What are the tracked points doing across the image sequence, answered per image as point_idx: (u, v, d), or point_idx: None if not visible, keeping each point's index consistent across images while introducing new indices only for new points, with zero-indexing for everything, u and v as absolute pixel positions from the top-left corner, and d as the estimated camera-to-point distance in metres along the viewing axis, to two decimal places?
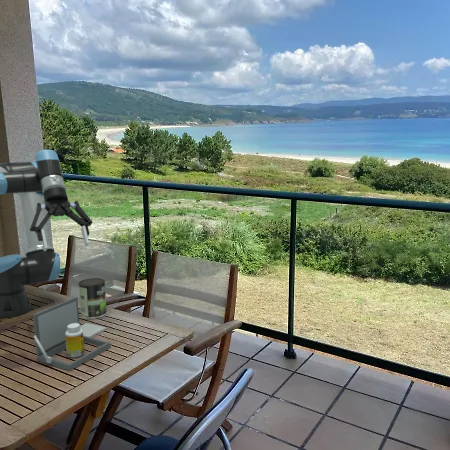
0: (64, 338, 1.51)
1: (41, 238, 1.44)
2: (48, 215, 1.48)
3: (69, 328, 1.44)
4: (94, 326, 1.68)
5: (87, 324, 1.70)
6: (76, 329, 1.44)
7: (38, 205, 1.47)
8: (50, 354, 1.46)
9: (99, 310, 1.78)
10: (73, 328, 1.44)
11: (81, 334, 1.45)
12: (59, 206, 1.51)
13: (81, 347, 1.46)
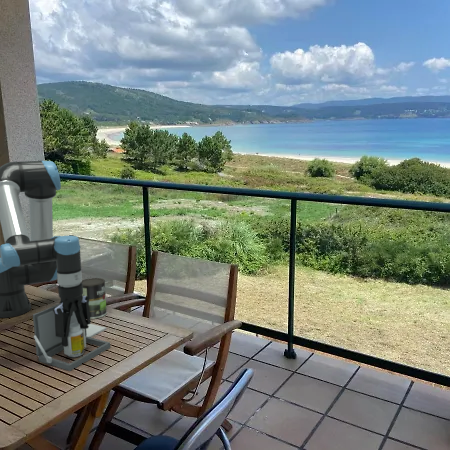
0: None
1: (67, 345, 1.43)
2: (69, 317, 1.42)
3: (69, 328, 1.44)
4: (94, 326, 1.68)
5: None
6: (76, 329, 1.44)
7: (59, 311, 1.38)
8: (50, 354, 1.46)
9: (99, 310, 1.78)
10: (73, 328, 1.44)
11: (81, 334, 1.45)
12: (74, 302, 1.44)
13: (81, 347, 1.46)
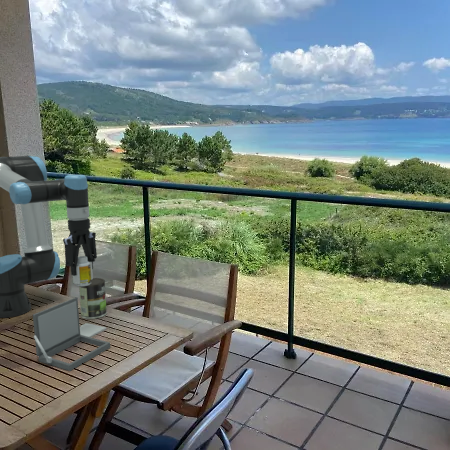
0: (64, 338, 1.51)
1: (75, 274, 1.57)
2: (78, 249, 1.56)
3: (78, 259, 1.58)
4: (94, 326, 1.68)
5: (87, 324, 1.70)
6: (84, 260, 1.59)
7: (69, 242, 1.53)
8: (50, 354, 1.46)
9: (99, 310, 1.78)
10: (82, 259, 1.58)
11: (88, 265, 1.60)
12: (82, 235, 1.58)
13: (88, 277, 1.60)
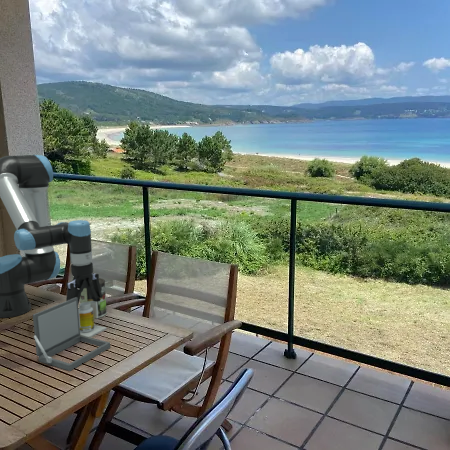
0: (64, 338, 1.51)
1: None
2: (80, 293, 1.59)
3: (81, 306, 1.62)
4: (94, 326, 1.68)
5: None
6: (87, 307, 1.62)
7: (72, 286, 1.55)
8: (50, 354, 1.46)
9: (99, 310, 1.78)
10: (85, 306, 1.61)
11: (91, 311, 1.63)
12: (85, 280, 1.61)
13: (91, 323, 1.63)
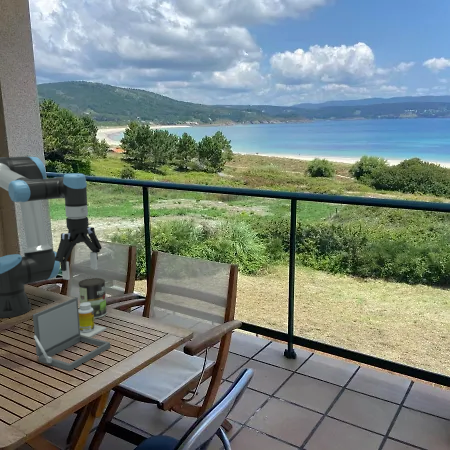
0: (64, 338, 1.51)
1: (65, 269, 1.55)
2: (72, 246, 1.56)
3: (81, 306, 1.61)
4: (94, 326, 1.68)
5: None
6: (87, 307, 1.62)
7: (66, 236, 1.53)
8: (50, 354, 1.46)
9: (99, 310, 1.78)
10: (85, 306, 1.61)
11: (92, 312, 1.63)
12: (81, 235, 1.59)
13: (92, 323, 1.63)
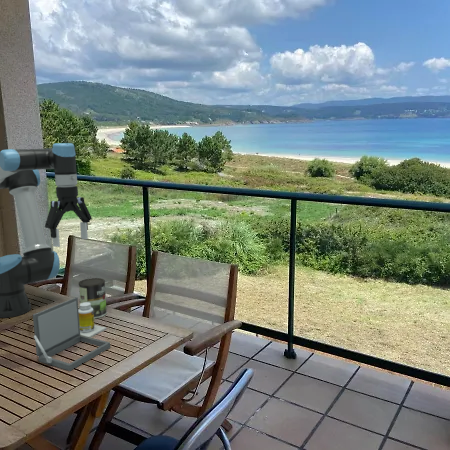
0: (64, 338, 1.51)
1: (55, 236, 1.58)
2: (62, 214, 1.59)
3: (81, 306, 1.61)
4: (94, 326, 1.68)
5: None
6: (87, 307, 1.62)
7: (56, 204, 1.56)
8: (50, 354, 1.46)
9: (99, 310, 1.78)
10: (85, 306, 1.61)
11: (92, 312, 1.63)
12: (70, 203, 1.62)
13: (92, 323, 1.63)
